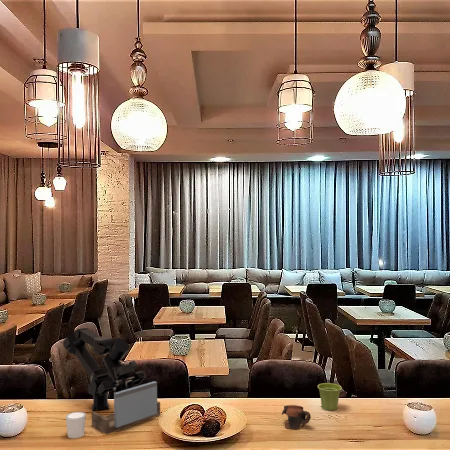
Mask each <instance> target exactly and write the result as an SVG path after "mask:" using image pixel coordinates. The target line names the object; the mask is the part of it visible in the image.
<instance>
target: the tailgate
mask: <svg viewBox="0 0 450 450" xmlns="http://www.w3.org/2000/svg"><path fill="white" fill-rule="evenodd" d="M157 401H158V381H150V382H148V383H143V384H139V385H135V386H132V388H130V389H126V390H123V391H119V392H116V393H113V414H114V427H116V428H117V427H120V426H123V425H126V424H129V423H132V422H134V421H137V420H140V419H143V418H146V417H149V416H152V415H154V414H157Z"/></svg>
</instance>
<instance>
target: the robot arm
mask: <svg viewBox="0 0 450 450" xmlns="http://www.w3.org/2000/svg"><path fill="white" fill-rule="evenodd" d="M62 344H63V348H64V349H65V350H66V351H67V353H69V354H72V355H75V357H76V358H77V359H78V361H79V362H80V363H81V365H82V366H83V368H84V370H85V371H86V372H87V374H88V375H89V377H90V384H89V385H88V387H87V393H88V394H89V395H91V396H92V397H93V398H92V401H93V402H92V406H91V407H92V408H91V411H92V412H96V411H104V410H110V406H109V405H110V404H109V402H108V401H109V400H108V399H109V398H108V397H109V396H108V395H109V394H108V392H112V393H113V394H114V393H116V392H119V391H123V390H126V389H130V388H133V387H136V386H139V385H141V383H142V382H143V381H144V379H145V378H146V377H147V375H146V373H145V371H143V370H140V371H137V372H135V370H137V369H138V365H137V364H138V363H137V362H136V361H135V360H132V361H131V360H130V361H129V362H128V364H125V363H122V362H121V360H122V359H123V358H124V357H125V355H126V354H127V352H128V351H129V349H130V346H129V343H128V342H127V341H125V340H123V339H122V338H121V337H116V338H114V339H113V338H112V337H108V336H106V337H105V336H100V335H98V334H97V333H94V332H93V331H91V330H89V329H88V327H82V328H77V329H76V330H74V331H73V332H72V333H70V334H69V335H66V337H65V338H64V339H63V342H62ZM86 344H88V345H89V346H91V347H92V348H93V351H94V353H96V354H97V355H98V356H102V355H104V356H102V359H101V364H102V365H105V367H103V368H101V367H100V365H99V364H98V363H97V361H96V360H95V359H94V357H93V356H92V355H91V353H90V352H89V350H88V349H87V348H86ZM131 373H133V374H132V376H131Z"/></svg>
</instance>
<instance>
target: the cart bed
mask: <svg viewBox="0 0 450 450" xmlns="http://www.w3.org/2000/svg"><path fill="white" fill-rule="evenodd" d="M158 416H161V402H160V401H158V400H157V414H154V415H152V416H149V417H146V418H143V419H140V420H137V421H134V422H132V423H129V424H126V425H123V426H120V427H117V428H116V427H114V413H111V414H108V415H106V416H104V415H102V414H99V413H98V412H96V411H92V412H91V427H93V428H95V429H96V430H98V431H100V432H102V433H103V434H105V435H108V434H111V433H114V432H117V431H120V430H122V429H125V428H128V427H131V426H134V425H137V424H140V423H143V422H145V421H148V420H151V419H153V418H156V417H158Z"/></svg>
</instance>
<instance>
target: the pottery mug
mask: <svg viewBox="0 0 450 450" xmlns="http://www.w3.org/2000/svg"><path fill="white" fill-rule="evenodd" d="M284 414H285V415H286V416H287V420H288V421H287V420H286V421H284V422H283V424H284V428H285V429H293V430H301V426H302V427H305V425H307V424H309V422H310V421H311V418H312V417H311V413H310V412H309V411H307V410H304V407H303V406H301V405H294V404H293V405H292V404H289V405H284V406H283V410H282V411H281V416H282V415H284Z"/></svg>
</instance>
